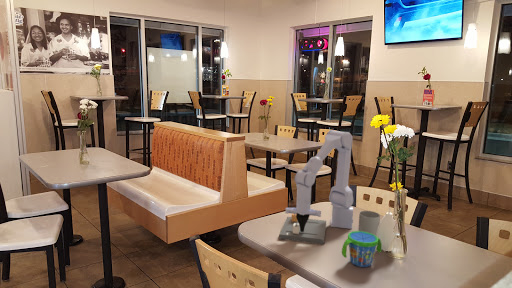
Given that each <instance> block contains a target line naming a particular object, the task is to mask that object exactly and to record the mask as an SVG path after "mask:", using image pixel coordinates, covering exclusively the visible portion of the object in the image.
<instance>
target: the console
mask: <svg viewBox="0 0 512 288" xmlns="http://www.w3.org/2000/svg"><path fill="white" fill-rule="evenodd" d="M291 220H292V216H287V217H286V219H285V222H284V223H283V226H282V228H281V230H280V233H279V240H287V241H292V242H293V241H294V242H303V243H310V244H319V245H324V243H325V237H326V228H327V220H324V219H323V220H322V219H313V218H309V219H308V221H307V223H306V225H305V228H304V232H300V231H299V234H295V233H293V224H294V223H298V220H297V222H293V221H291Z"/></svg>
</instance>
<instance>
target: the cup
mask: <svg viewBox="0 0 512 288" xmlns="http://www.w3.org/2000/svg"><path fill="white" fill-rule="evenodd" d="M380 221H381V214H380V213H379V212H376V211H371V210H361V211H359V217H358V229H357V231H363V232H368V233H371V234H373V235H375V236H377V229H378V226H379V223H380Z"/></svg>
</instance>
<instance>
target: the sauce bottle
mask: <svg viewBox="0 0 512 288" xmlns="http://www.w3.org/2000/svg"><path fill="white" fill-rule="evenodd" d="M393 215H394V214H393V212H391V207H390V206H389V208H388V211H387V212H386V213H385V214H384V216H383V217H382V218H381V219H380V223H379V226H378V229H377V237H378V238H379V239H380V240H381V244H382V250H381V251H383V252H385V251H386V250H388V248H389V246H390V244H391V242H392V240H393V238H394V232H393V231H394V229H393V228H394V226H395V221H396V219H395V220H394V219H393V217H394V216H393Z"/></svg>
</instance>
